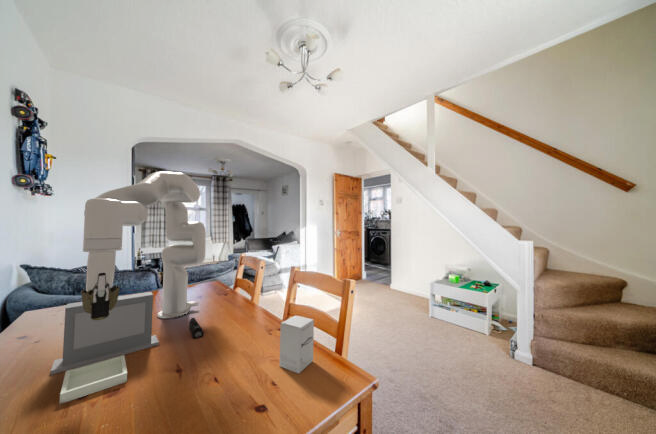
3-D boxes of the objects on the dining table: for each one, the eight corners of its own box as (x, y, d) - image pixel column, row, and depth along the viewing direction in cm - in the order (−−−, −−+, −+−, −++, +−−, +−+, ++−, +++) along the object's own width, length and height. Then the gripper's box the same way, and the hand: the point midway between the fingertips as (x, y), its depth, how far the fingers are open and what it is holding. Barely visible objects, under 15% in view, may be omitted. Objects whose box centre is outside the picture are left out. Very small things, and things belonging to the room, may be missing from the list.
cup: (94, 325, 58) (95, 292, 58) (71, 322, 59) (72, 290, 60) (125, 314, 65) (127, 285, 65) (104, 312, 67) (106, 283, 67)
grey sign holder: (155, 337, 85) (157, 290, 86) (158, 344, 80) (160, 294, 81) (54, 363, 69) (57, 304, 69) (50, 374, 64) (54, 310, 64)
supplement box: (299, 374, 65) (300, 328, 66) (278, 366, 69) (279, 322, 69) (313, 361, 71) (314, 319, 72) (294, 354, 75) (295, 314, 76)
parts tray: (124, 362, 70) (124, 354, 70) (126, 381, 61) (127, 372, 61) (65, 379, 62) (66, 371, 62) (59, 404, 53) (60, 394, 53)
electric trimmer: (197, 323, 99) (198, 316, 99) (204, 337, 87) (204, 328, 87) (187, 325, 97) (187, 318, 97) (192, 340, 84) (192, 331, 85)
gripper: (84, 243, 67) (81, 307, 66) (80, 248, 54) (76, 327, 54) (120, 242, 72) (117, 302, 71) (123, 246, 59) (120, 319, 59)
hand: (100, 312), depth 62 cm, fingers closed on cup, 6 cm apart
